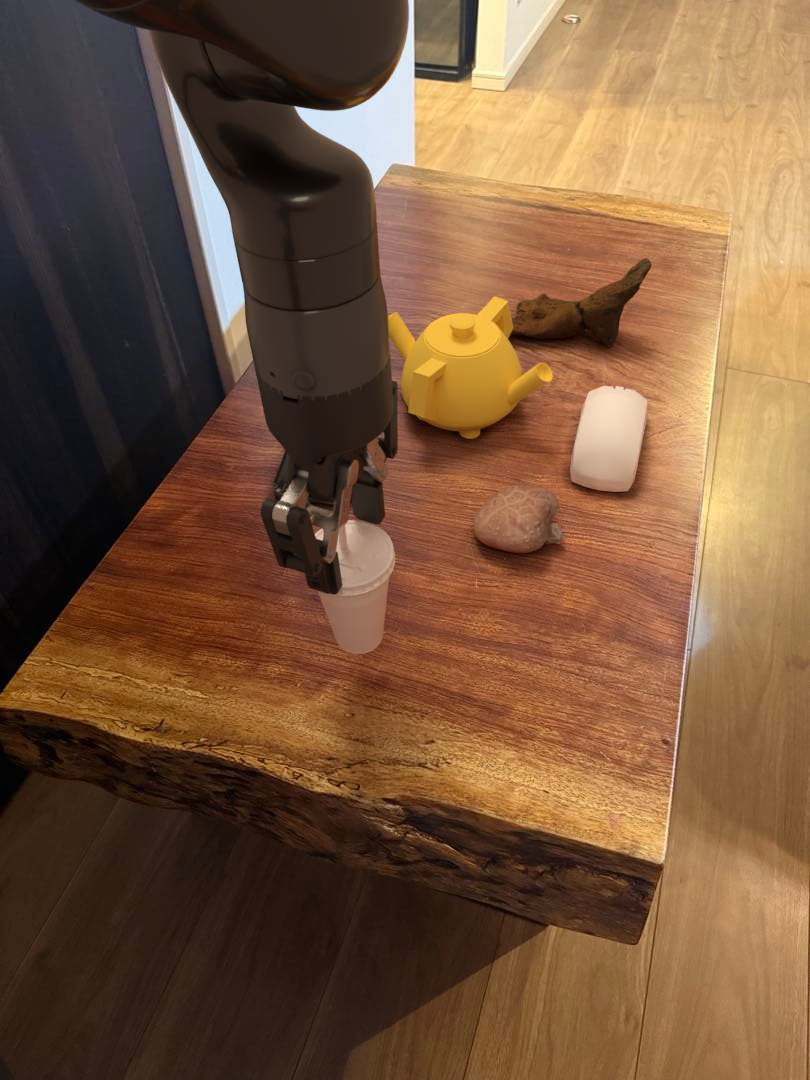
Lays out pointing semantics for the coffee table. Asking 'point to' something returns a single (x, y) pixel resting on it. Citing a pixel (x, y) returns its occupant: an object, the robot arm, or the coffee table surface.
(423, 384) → the teapot
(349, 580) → the smoothie
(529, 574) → the coffee table surface
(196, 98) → the robot arm
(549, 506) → the mushroom
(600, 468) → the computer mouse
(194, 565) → the coffee table surface
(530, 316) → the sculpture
